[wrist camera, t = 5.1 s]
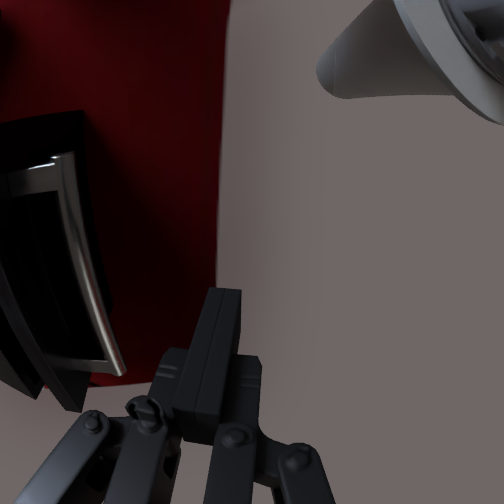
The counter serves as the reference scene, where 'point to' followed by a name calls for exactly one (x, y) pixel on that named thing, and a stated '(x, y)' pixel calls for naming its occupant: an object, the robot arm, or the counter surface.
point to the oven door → (54, 256)
